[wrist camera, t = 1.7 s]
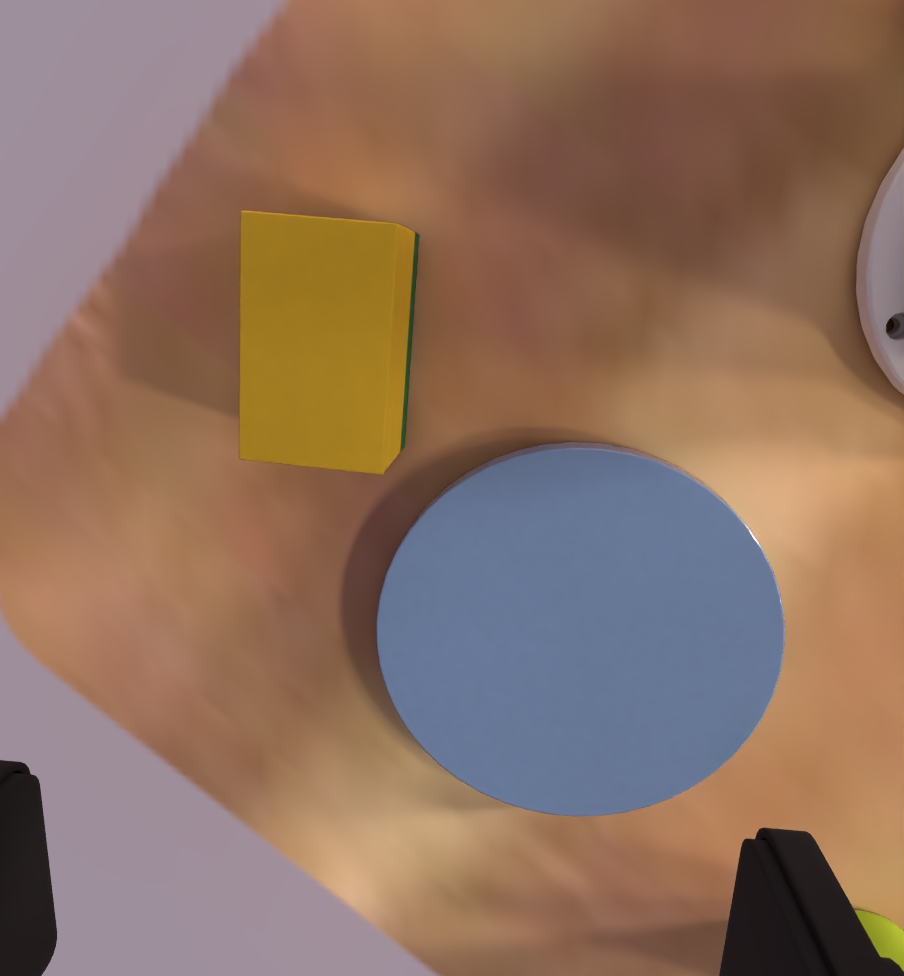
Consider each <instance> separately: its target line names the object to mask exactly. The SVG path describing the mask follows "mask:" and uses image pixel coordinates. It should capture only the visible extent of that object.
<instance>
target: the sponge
mask: <svg viewBox="0 0 904 976" xmlns="http://www.w3.org/2000/svg"><path fill="white" fill-rule="evenodd" d="M418 245H419V234H418V233H416V232H414V231H412V230H409V229H407V228H405V227H403V226H401V225H399V224H397V223H388V222H376V221H364V220H352V219H340V218H328V217H316V216H304V215H292V214H280V213H268V212H256V211H244V210H243V211H241V233H240V377H239V459H242V460H251V461H261V462H270V463H279V464H288V465H297V466H306V467H315V468H325V469H334V470H343V471H352V472H361V473H370V474H379V475H382V474H383V473H384V472H385V471H386V469H387V468H388V467H389V466H390V464H391V463H392V462H393V460H394V459H395V458H396V457H397V455H398V454H399V453H400V452H401V450H402V449H403V448H404V446H405V432H406V418H407V403H408V389H409V375H410V360H411V346H412V331H413V317H414V303H415V288H416V274H417V259H418Z"/></svg>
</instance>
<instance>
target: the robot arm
mask: <svg viewBox="0 0 904 976" xmlns="http://www.w3.org/2000/svg"><path fill="white" fill-rule="evenodd" d="M856 297H857V303H858V309H859V315H860V321H861V326H862V329H863V332H864V334H865V337H866V339H867V342H868V344H869V347H870V349H871V352H872V355H873V357H874V359H875V360H876V362H877V363H878V365H879V366H880V368H881V369H882V371H883V372H884V374H885V375H886V376H887V378H888V379H889V381H890V382H891V384H892V385H893V386H894V387H895V388H896V389H897V390H898V391H899V392H900V393H902V394H903V395H904V148H903V150H902V151H901V153H900V154H899V156H898V157H897V159H896V161H895V162H894V164H893V165H892V167H891V169H890V170H889V172H888V173H887V175H886V176H885V178H884V180H883V181H882V183H881V185H880V187H879V189H878V192H877V194H876V196H875V199H874V201H873V204H872V206H871V208H870V211H869V213H868V216H867V218H866V220H865V225H864V229H863V233H862V238H861V242H860V247H859V251H858V256H857V276H856ZM890 318H891V319H892V320H893V321H894V327H893V329H892V330H891V331H890V332H888V333H886V324H887V322H888V320H889V319H890ZM56 941H57V928H56V920H55V912H54V903H53V894H52V885H51V876H50V868H49V859H48V850H47V843H46V833H45V825H44V816H43V808H42V799H41V790H40V783H39V780H38V778H37V777H36V776H35V775H31V774H30V771H29V768H28V767H27V765H26V764H24V763H22V762H14V761H3V760H0V976H41V975H42V974H43V972H44V971H45V969H46V968H47V966H48V964H49V963H50V960H51V958H52V956H53V953H54V950H55V947H56ZM719 976H904V971H903V970H902V969H901V967H900V966H899V965H898V964H897V963H896V962H894V961H893V960H892V959H890V958H885V957H880V955H879V954H878V952H877V950H876V948H875V947H874V945H873V943H872V941H871V939H870V938H869V936H868V934H867V932H866V930H865V929H864V927H863V925H862V923H861V922H860V920H859V918H858V916H857V914H856V913H855V911H854V909H853V907H852V905H851V904H850V902H849V900H848V898H847V896H846V895H845V893H844V891H843V889H842V888H841V886H840V884H839V882H838V880H837V879H836V877H835V875H834V873H833V871H832V870H831V868H830V866H829V864H828V863H827V861H826V859H825V857H824V855H823V854H822V852H821V850H820V848H819V846H818V845H817V843H816V841H815V839H814V838H813V837H812V835H811V834H809V833H808V832H805V831H794V830H783V829H771V828H761V829H759V831H758V832H757V835H756V838H755V839H745V840H744V841H743V843H742V847H741V852H740V858H739V863H738V869H737V875H736V881H735V887H734V893H733V899H732V904H731V910H730V916H729V922H728V928H727V934H726V940H725V945H724V951H723V957H722V963H721V969H720V975H719Z"/></svg>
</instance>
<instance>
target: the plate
mask: <svg viewBox="0 0 904 976" xmlns="http://www.w3.org/2000/svg"><path fill="white" fill-rule="evenodd" d="M376 643H377V650H378V657H379V664H380V668H381V672H382V675H383V679H384V682H385V685H386V689H387V691H388V693H389V696H390V698H391V700H392V702H393V705H394V707H395V709H396V711H397V713H398V714H399V716H400V718H401V719H402V721H403V722H404V724H405V726H406V727H407V729H408V731H409V732H410V733H411V734H412V736H413V737H414V738H415V739H416V741H417V742H418V743H419V744H420V745H421V747H422V748H423V749H424V750H425V751H426V752H427V753H428V754H429V755H430V756H431V757H432V758H433V759H434V760H435V761H436V762H437V763H438V764H439V765H440V766H442V767H443V768H444V769H446V770H447V771H448V772H450V773H451V774H452V775H454V776H455V777H456V778H458V779H459V780H460V781H462V782H464V783H466V784H467V785H469V786H471V787H472V788H474V789H476V790H477V791H479V792H481V793H483V794H486V795H488V796H490V797H492V798H495V799H497V800H499V801H501V802H504V803H507V804H510V805H513V806H517V807H520V808H523V809H526V810H531V811H536V812H541V813H546V814H553V815H565V816H602V815H609V814H617V813H624V812H628V811H632V810H636V809H640V808H644V807H648V806H651V805H654V804H656V803H659V802H662V801H664V800H667V799H670V798H672V797H674V796H676V795H678V794H680V793H682V792H684V791H686V790H688V789H690V788H691V787H693V786H695V785H697V784H698V783H699V782H701V781H702V780H704V779H705V778H707V777H708V776H710V775H711V774H713V773H714V772H715V771H716V770H718V769H719V768H720V767H721V766H722V765H723V764H724V763H726V762H727V761H728V760H729V759H730V758H731V757H732V756H733V755H734V754H735V753H736V752H737V751H738V750H739V748H740V747H741V746H742V745H743V744H744V743H745V742H746V740H747V739H748V738H749V737H750V735H751V734H752V732H753V731H754V729H755V728H756V726H757V725H758V723H759V722H760V720H761V719H762V717H763V715H764V713H765V711H766V709H767V707H768V705H769V703H770V701H771V698H772V696H773V694H774V691H775V688H776V684H777V681H778V678H779V675H780V671H781V666H782V659H783V653H784V646H785V620H784V614H783V607H782V600H781V595H780V592H779V588H778V585H777V582H776V578H775V575H774V572H773V570H772V568H771V566H770V563H769V561H768V559H767V557H766V555H765V553H764V551H763V549H762V547H761V546H760V544H759V543H758V541H757V540H756V538H755V537H754V535H753V534H752V532H751V531H750V529H749V528H748V526H747V525H746V524H745V523H744V522H743V521H742V520H741V519H740V517H739V516H738V515H737V514H736V513H735V512H734V511H733V510H732V509H731V508H730V506H729V505H728V504H727V503H726V502H725V501H724V500H723V499H722V498H721V497H720V496H719V495H718V494H716V493H715V492H714V491H713V490H712V489H710V488H709V487H708V486H707V485H706V484H704V483H703V482H702V481H700V480H699V479H697V478H696V477H694V476H692V475H691V474H689V473H688V472H686V471H684V470H683V469H681V468H680V467H678V466H676V465H673V464H671V463H669V462H667V461H665V460H662V459H660V458H658V457H656V456H653V455H650V454H647V453H644V452H640V451H637V450H634V449H631V448H627V447H621V446H615V445H609V444H603V443H589V442H565V443H553V444H544V445H539V446H535V447H530V448H525V449H521V450H517V451H514V452H511V453H509V454H506V455H503V456H500V457H497V458H494V459H492V460H490V461H488V462H486V463H484V464H482V465H480V466H478V467H476V468H474V469H472V470H470V471H469V472H467V473H466V474H464V475H463V476H461V477H460V478H459V479H457V480H456V481H454V482H453V483H451V484H450V485H448V486H447V487H446V488H445V489H444V490H443V491H442V492H441V493H439V494H438V495H437V496H436V497H435V498H434V499H433V500H432V501H431V502H430V503H429V504H428V505H427V506H426V507H425V508H424V510H423V511H422V512H421V513H420V514H419V516H418V517H417V518H416V519H415V520H414V522H413V523H412V525H411V526H410V528H409V529H408V531H407V533H406V534H405V536H404V537H403V539H402V541H401V542H400V544H399V546H398V548H397V550H396V552H395V555H394V557H393V559H392V561H391V564H390V566H389V568H388V570H387V572H386V575H385V579H384V582H383V586H382V590H381V593H380V597H379V604H378V611H377V619H376Z"/></svg>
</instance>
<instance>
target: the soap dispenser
mask: <svg viewBox="0 0 904 976" xmlns="http://www.w3.org/2000/svg"><path fill="white" fill-rule="evenodd" d="M854 911H855V913H856V914H857V916H858V918H859V920H860V922H861V923H862V925H863V927H864V929H865V930H866V932H867V934H868V936H869V938H870V939H871V941H872V943H873V945H874V947H875V948H876V950H877V952H878V954H879V955H880V957H885V958H890V959H892V960H893V961H894V962H896V963H897V964H898V965H899V966H900V967H901V969H902V970H903V971H904V931H903V930H902V929H901V928H899V927H898V926H897V925H896V924H894V923H893V922H891V921H890V920H888V919H886V918H884V917H882V916H879V915H877V914H874V913H870V912H866V911H860V910H854Z"/></svg>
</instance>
